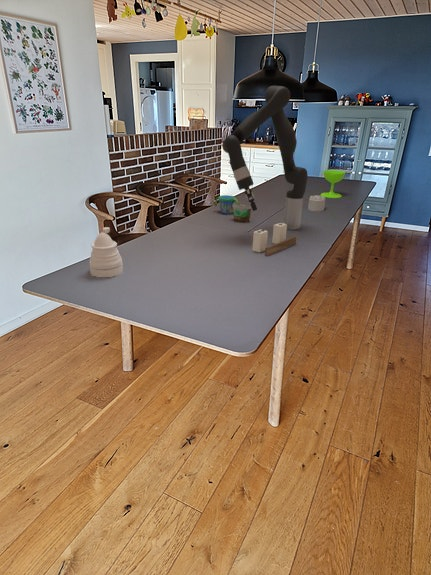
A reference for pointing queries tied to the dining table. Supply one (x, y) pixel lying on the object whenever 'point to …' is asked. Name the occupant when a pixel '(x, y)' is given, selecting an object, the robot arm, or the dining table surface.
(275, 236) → the key one
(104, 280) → the dining table surface
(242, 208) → the food container
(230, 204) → the snack cup
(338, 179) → the wineglass
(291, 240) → the console
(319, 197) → the lumpy-topped squat cylinder
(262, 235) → the key two
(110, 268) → the honey pot
